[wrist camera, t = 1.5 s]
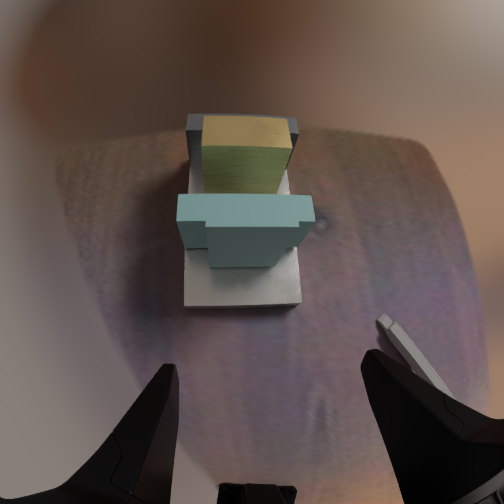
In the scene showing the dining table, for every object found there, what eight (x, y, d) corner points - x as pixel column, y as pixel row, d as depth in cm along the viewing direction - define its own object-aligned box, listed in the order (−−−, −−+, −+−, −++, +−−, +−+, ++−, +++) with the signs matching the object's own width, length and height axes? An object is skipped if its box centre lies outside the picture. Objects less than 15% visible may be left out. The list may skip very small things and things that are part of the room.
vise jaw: (299, 266, 22) (332, 227, 15) (183, 267, 21) (167, 227, 14) (294, 224, 23) (322, 175, 16) (185, 224, 22) (173, 171, 15)
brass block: (274, 200, 24) (292, 148, 18) (204, 200, 23) (201, 145, 17) (271, 173, 25) (286, 118, 19) (206, 172, 24) (204, 115, 18)
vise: (296, 305, 23) (324, 288, 17) (186, 308, 21) (173, 291, 15) (280, 158, 28) (294, 114, 22) (192, 157, 27) (188, 110, 21)
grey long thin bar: (457, 439, 19) (495, 445, 13) (452, 446, 19) (489, 454, 13) (381, 313, 23) (423, 299, 18) (374, 320, 23) (415, 308, 17)
